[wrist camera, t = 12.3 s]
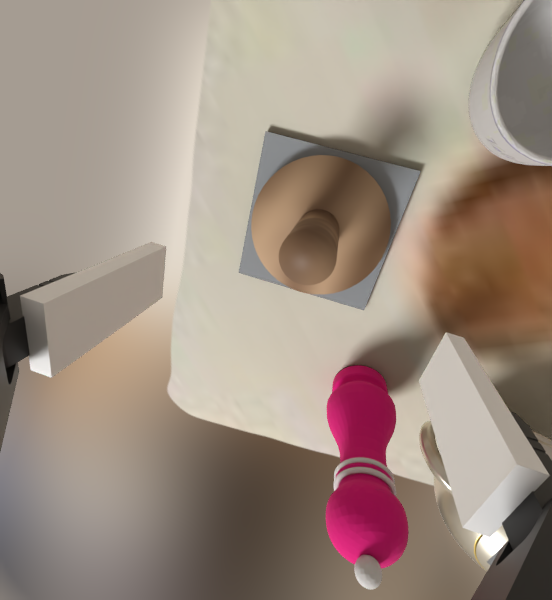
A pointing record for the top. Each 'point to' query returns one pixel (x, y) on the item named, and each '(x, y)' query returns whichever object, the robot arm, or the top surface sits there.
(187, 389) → the top surface
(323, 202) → the lid
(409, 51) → the top surface
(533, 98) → the teacup
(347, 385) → the pepper mill
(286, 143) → the mat
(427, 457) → the teapot
